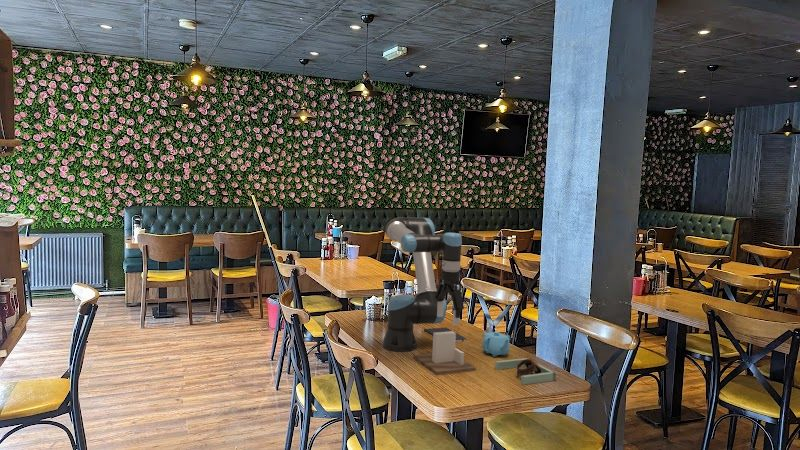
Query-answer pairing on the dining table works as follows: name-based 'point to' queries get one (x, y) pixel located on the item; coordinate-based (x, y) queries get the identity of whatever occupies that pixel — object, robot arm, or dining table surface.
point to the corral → (527, 379)
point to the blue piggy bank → (496, 343)
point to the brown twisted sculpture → (528, 367)
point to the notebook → (434, 330)
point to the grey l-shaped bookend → (446, 348)
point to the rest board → (442, 365)
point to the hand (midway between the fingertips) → (447, 320)
